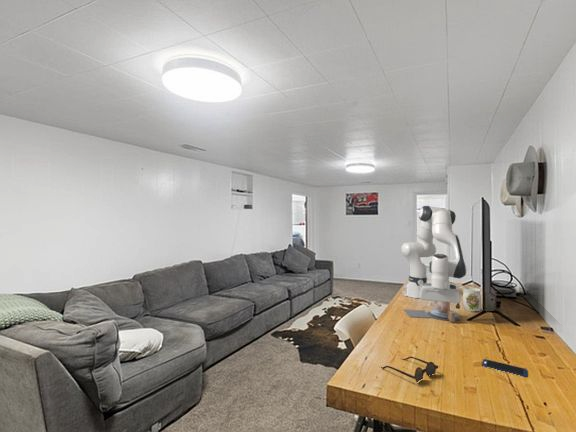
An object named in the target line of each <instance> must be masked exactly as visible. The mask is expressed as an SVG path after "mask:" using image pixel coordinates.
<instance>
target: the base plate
mask: <svg viewBox="0 0 576 432" xmlns="http://www.w3.org/2000/svg"><path fill="white" fill-rule="evenodd" d="M427 313H428V315H429V316H431V317H432V318H431V319H435V320H439V321H447V322H451V321H450V320H449V319H447V318H441V317H437V316H434V315H432V314H431V313H430V311H427ZM461 318H462V317H461V316H460V315H458V317H457V318H455V322H457V321H461Z"/></svg>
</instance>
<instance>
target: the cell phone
mask: <svg viewBox="0 0 576 432" xmlns="http://www.w3.org/2000/svg"><path fill="white" fill-rule="evenodd" d="M483 366H485V367H484V368H487V367H490V368H489V369H491V368H494V369H497V370H496V371H498V370H501V371H500V372H502V371H505V372H504V373H506V372H509V373H508V374H510V373H513V374H512V375H514V374H516V375H515V376H518V375H520V376H519V377H522V376H523V378H528V377H527V376H528V369H526V368H524V367H520V366H516V365H513V364H512V365H511V364H507V363H503V362H499V361H496V360H495V361H494V360H491V359H487V358H484V359H482V363H481V367H483ZM494 369H493V370H494Z"/></svg>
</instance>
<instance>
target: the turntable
mask: <svg viewBox="0 0 576 432" xmlns="http://www.w3.org/2000/svg"><path fill="white" fill-rule="evenodd" d="M437 305H438V303H437ZM429 312H430V313H431V314H432V315H434V316H437V317H441V318H447V319H449V320H450V321H449V322H451V323H454V322H455V323H456V321H455V318H457V317H458V316H459V314H458V312H456V311H454V310H451V309H450V310H447V314H444V313H440V312H438V310H437V309H436V308H432V309H431V308H430V311H429Z"/></svg>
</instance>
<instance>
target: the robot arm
mask: <svg viewBox="0 0 576 432" xmlns="http://www.w3.org/2000/svg"><path fill="white" fill-rule="evenodd" d="M418 218H419V220H420V222H419V224H418V228H417V230H416V236H417V238H418V239H419V240H418V241H407V242H404V243H403V244H402V245H401V247H400V251H401V254H402V256H403V257H405V258H406V260H407V261H408V264H409V275H408V282H407V283H406V284H405V285H404V286H403V290H402V293H403V296H404V297H409V298H413V299H420V300H421V301H428V302H429V301H432V302H434V304H435V309H437V310H443V306H444V305H445V302H450V304H451V303H453V304H460V303H461V301H462V300H461V299H462V298H461V291H460V290H459V286H458V284H457V283H454V282H451V281H450V278H454V279H455V278H456V279H462V278H464V277H465V276H466V275H467V270H468V269H467V265H466V263H465V261H464V254H463V251H462V246H461V242H460V239H459V235H457V234H455V233H454V231H453V225H454V224H455V222H456V218H457V216H456V213H455V211H453V210H451V209H446V208H443V207H436V206H430V205H423V206H421V207H420V210H419V211H418ZM433 239H435V240H436V241H437V242H439V243H443V244H445V245H448V246H450V247H451V248H452V250H453V254H454V259H449V256H448V255H446V254H443V253H436V252H437V248H436V244H435V243H434V242H433ZM429 257H430V258H431V257H432V259H431V261H429V271H428V272H430V274H431V277H430V282H429V283H428V277H427V265H426V264H425V263H424V262H422V260H421V258H429ZM438 301H440V302H442V305H441V306H438V305H437V303H438Z"/></svg>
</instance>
